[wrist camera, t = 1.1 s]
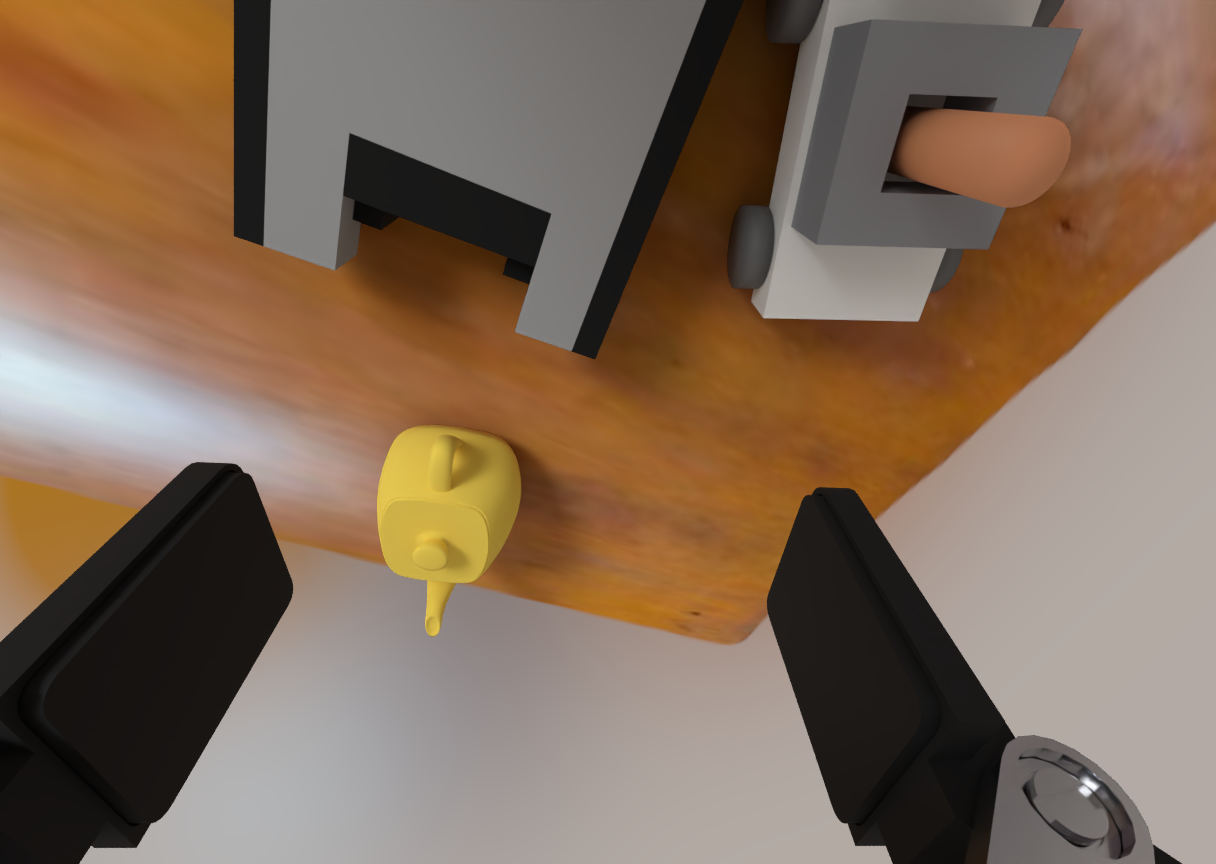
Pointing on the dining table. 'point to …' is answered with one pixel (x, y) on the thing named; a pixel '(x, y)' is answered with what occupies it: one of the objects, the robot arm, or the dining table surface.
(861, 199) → the ramp trolley
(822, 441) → the dining table surface
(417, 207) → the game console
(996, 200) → the pin
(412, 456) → the teapot
